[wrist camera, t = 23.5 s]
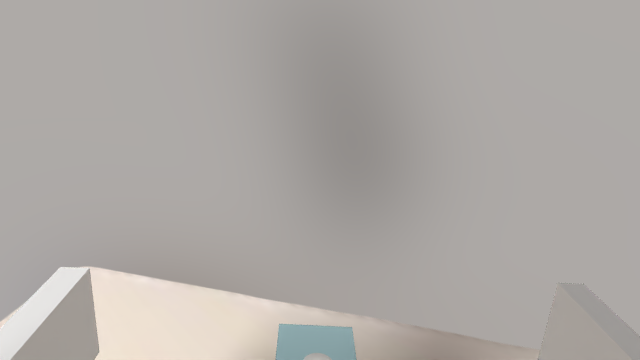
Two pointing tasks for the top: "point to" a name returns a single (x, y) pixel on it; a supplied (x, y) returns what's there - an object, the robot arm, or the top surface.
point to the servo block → (315, 343)
